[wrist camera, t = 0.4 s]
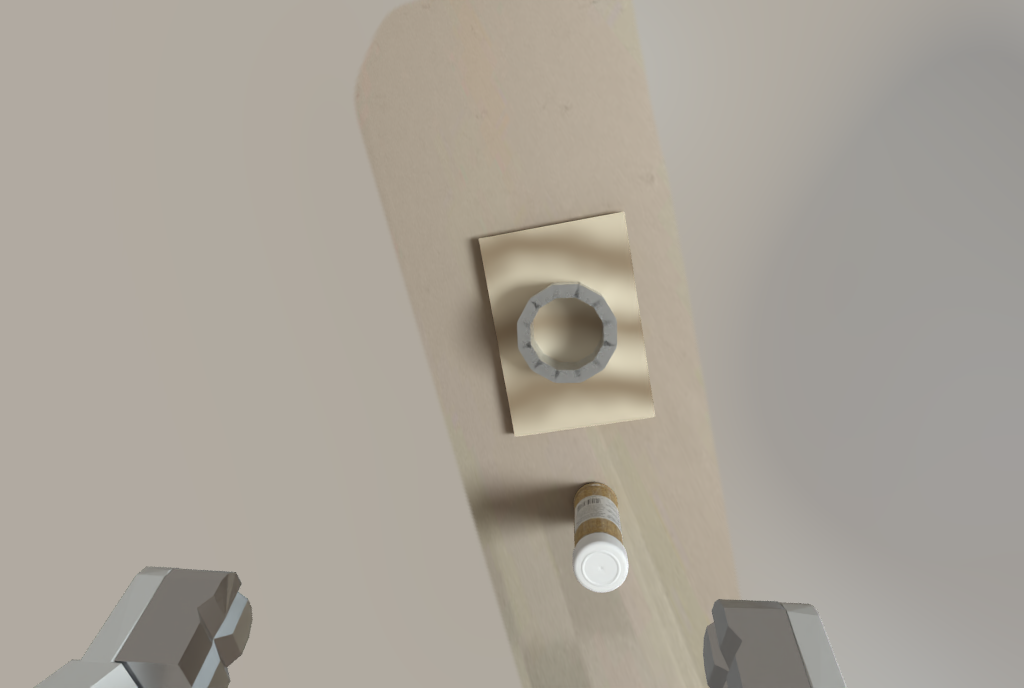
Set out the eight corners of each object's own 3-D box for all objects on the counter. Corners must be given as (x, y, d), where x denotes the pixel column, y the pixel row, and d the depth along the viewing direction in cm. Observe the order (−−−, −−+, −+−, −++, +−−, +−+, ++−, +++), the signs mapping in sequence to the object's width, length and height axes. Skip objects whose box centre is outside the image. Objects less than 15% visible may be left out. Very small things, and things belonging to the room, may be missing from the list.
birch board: (653, 413, 61) (655, 417, 60) (516, 433, 63) (514, 436, 62) (623, 212, 59) (624, 211, 57) (480, 238, 60) (478, 238, 59)
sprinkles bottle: (576, 524, 64) (576, 596, 51) (570, 482, 63) (569, 545, 50) (620, 520, 63) (632, 592, 50) (615, 478, 63) (625, 540, 50)
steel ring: (632, 343, 59) (635, 350, 55) (552, 390, 61) (550, 400, 57) (583, 264, 59) (583, 265, 55) (504, 313, 60) (498, 317, 56)
